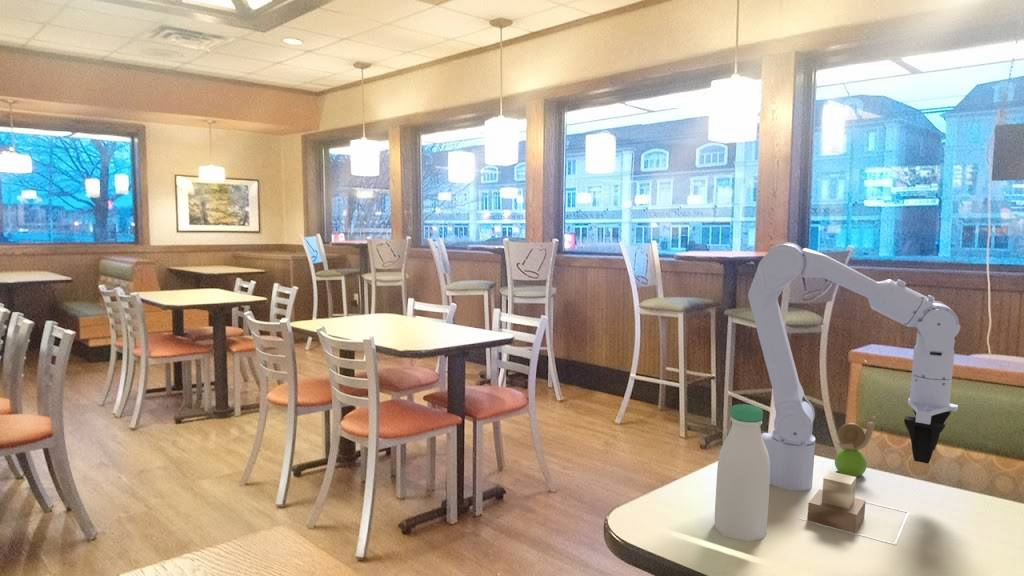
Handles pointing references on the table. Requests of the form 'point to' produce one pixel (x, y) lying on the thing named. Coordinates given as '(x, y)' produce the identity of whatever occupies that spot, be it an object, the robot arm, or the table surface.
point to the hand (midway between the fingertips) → (924, 455)
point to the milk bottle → (743, 478)
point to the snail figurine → (853, 448)
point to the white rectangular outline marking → (875, 538)
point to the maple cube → (838, 489)
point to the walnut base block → (836, 514)
